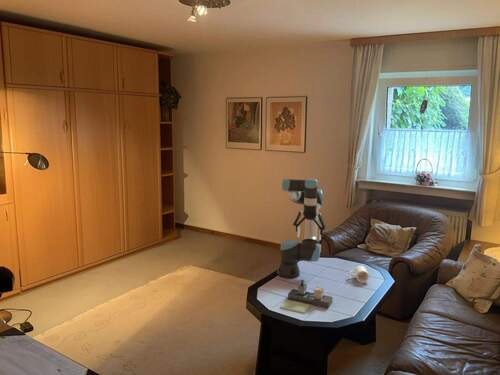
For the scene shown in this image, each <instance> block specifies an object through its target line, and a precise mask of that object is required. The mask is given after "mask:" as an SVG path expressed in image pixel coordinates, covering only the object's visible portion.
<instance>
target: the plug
mask: <svg viewBox="0 0 500 375" xmlns="http://www.w3.org/2000/svg"><path fill="white" fill-rule="evenodd" d="M313 293H314V298H316V299H320V300H322V299H323V295H324V287H320V286H315V288H314V292H313Z"/></svg>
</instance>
